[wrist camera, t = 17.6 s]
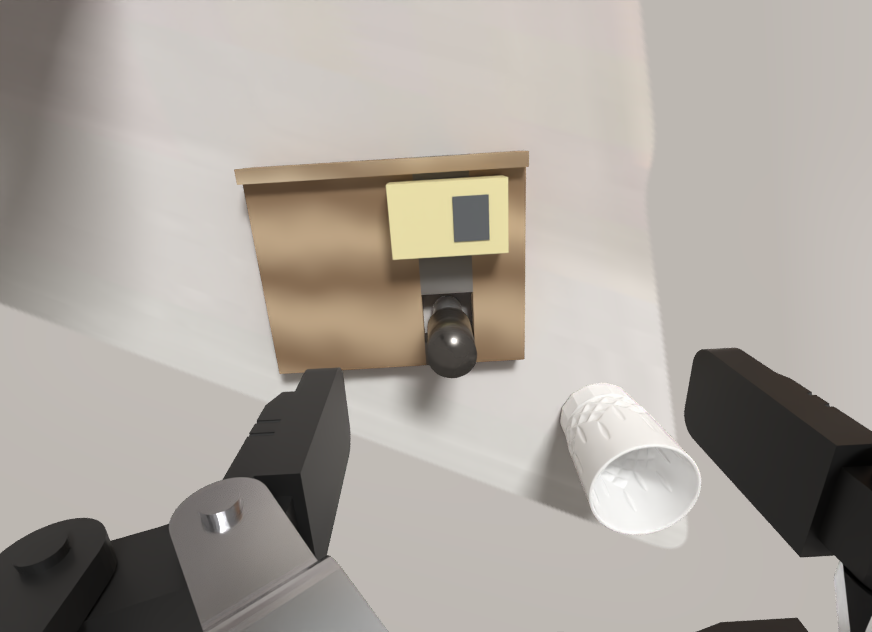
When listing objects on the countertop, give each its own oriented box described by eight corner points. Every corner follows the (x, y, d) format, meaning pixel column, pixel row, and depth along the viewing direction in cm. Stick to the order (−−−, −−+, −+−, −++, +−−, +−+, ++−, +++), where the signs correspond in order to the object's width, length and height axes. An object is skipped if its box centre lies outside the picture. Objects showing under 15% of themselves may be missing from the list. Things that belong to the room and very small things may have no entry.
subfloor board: (250, 167, 34) (234, 169, 31) (520, 150, 34) (528, 151, 31) (286, 363, 40) (275, 379, 37) (519, 349, 40) (526, 364, 37)
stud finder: (388, 182, 33) (385, 185, 30) (502, 175, 33) (508, 177, 30) (395, 252, 34) (392, 260, 32) (503, 245, 34) (508, 253, 32)
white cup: (614, 359, 40) (671, 424, 31) (655, 422, 42) (720, 501, 33) (536, 406, 42) (568, 482, 32) (580, 465, 44) (622, 552, 34)
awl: (426, 292, 38) (425, 334, 29) (465, 289, 38) (476, 331, 29) (429, 328, 39) (429, 379, 30) (467, 326, 39) (477, 376, 30)
